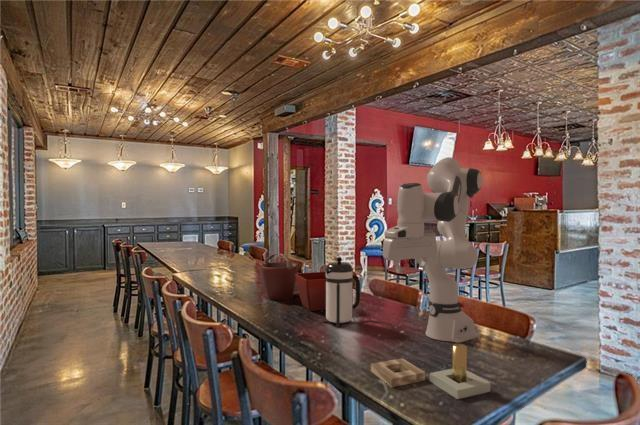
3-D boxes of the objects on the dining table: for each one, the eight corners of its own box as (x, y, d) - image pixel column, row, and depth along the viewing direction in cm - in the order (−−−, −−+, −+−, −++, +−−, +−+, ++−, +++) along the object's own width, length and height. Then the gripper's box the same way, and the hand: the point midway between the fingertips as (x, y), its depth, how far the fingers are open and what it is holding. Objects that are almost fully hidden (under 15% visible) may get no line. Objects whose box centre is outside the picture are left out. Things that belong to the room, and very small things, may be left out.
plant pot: (341, 310, 201) (342, 277, 200) (306, 313, 194) (306, 279, 193) (327, 301, 218) (327, 271, 218) (294, 304, 211) (294, 273, 211)
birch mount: (402, 365, 131) (402, 358, 131) (424, 380, 120) (424, 372, 120) (370, 371, 127) (370, 363, 127) (391, 387, 116) (391, 379, 116)
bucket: (256, 293, 237) (256, 252, 236) (290, 290, 246) (290, 250, 246) (268, 303, 215) (268, 257, 214) (305, 299, 224) (305, 255, 223)
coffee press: (356, 329, 170) (356, 259, 169) (319, 326, 173) (319, 258, 173) (360, 317, 187) (360, 254, 186) (327, 315, 190) (327, 253, 190)
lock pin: (459, 382, 119) (460, 342, 119) (469, 387, 115) (469, 347, 115) (449, 384, 117) (449, 344, 117) (458, 390, 114) (459, 349, 114)
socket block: (460, 374, 124) (460, 366, 124) (490, 391, 113) (490, 382, 113) (429, 381, 120) (429, 373, 120) (457, 399, 109) (457, 390, 108)
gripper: (429, 229, 140) (429, 267, 140) (380, 231, 132) (380, 272, 132) (441, 230, 134) (441, 270, 135) (390, 233, 126) (391, 276, 126)
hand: (410, 271), depth 133 cm, fingers open, 8 cm apart
